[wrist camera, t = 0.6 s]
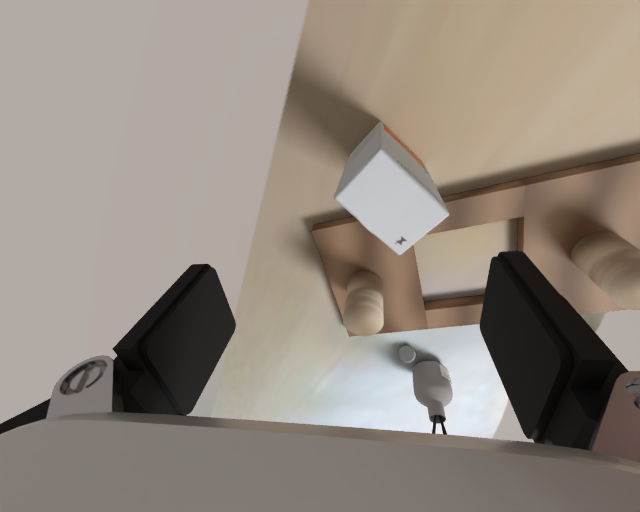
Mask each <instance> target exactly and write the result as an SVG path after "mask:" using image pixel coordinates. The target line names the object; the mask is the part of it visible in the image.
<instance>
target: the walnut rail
mask: <svg viewBox="0 0 640 512" xmlns="http://www.w3.org/2000/svg"><path fill="white" fill-rule="evenodd" d="M441 198H442V200H443V202H444V204H445V206H446V208H447V210H448V212H449V216H448V217H446V218H445V219H444V220H443V221H442V222H440V223H439V224H438V225H437V226H436V227H434V228H433V229H432V230H431V231H429V232H428V233H427V234H433V233H438V232H443V231H449V230H454V229H459V228H465V227H470V226H475V225H481V224H486V223H492V222H497V221H502V220H508V219H513V218H518V231H517V251H523V252H524V253H525V254H526V255H527V256H528V258H529V259H530V260H531V261H532V262H533V263H534V265H535V266H536V267H537V268H538V269H539V270H540V272H541V273H542V274H543V275H544V276H545V277H546V279H547V280H548V281H549V282H550V283H551V284H552V286H553V287H554V288H555V289H556V290H557V291H558V293H559V294H560V295H562V296H563V297H564V298H565V299H566V300H567V301H568V302H569V303H570V304H571V305H572V307H573V308H574V309H575V310H576V311H577V312H578V313H579V314H587V313H598V312H608V311H618V310H640V153H639V154H635V155H630V156H626V157H621V158H617V159H612V160H607V161H603V162H598V163H594V164H589V165H585V166H580V167H576V168H571V169H567V170H562V171H558V172H553V173H548V174H544V175H539V176H535V177H530V178H526V179H521V180H517V181H512V182H508V183H503V184H498V185H494V186H489V187H485V188H480V189H476V190H471V191H467V192H462V193H458V194H453V195H449V196H444V197H441ZM311 232H312V235H313V238H314V240H315V243H316V246H317V249H318V251H319V254H320V257H321V260H322V262H323V265H324V268H325V271H326V273H327V276H328V279H329V282H330V285H331V287H332V290H333V293H334V296H335V298H336V301H337V304H338V307H339V309H340V312H341V315H342V318H343V324H344V326H345V327H346V329H347V332H348V334H349V336H370V335H373V334H380V333H391V332H401V331H411V330H422V329H432V328H442V327H453V326H463V325H473V324H480V318H481V313H482V307H483V302H484V296H485V295H478V296H470V297H462V298H454V299H446V300H437V301H429V302H423V296H422V291H421V285H420V280H419V274H418V268H417V263H416V257H415V252H414V246H413V245H412V246H411V247H410V248H409V249H407V250H406V251H405V252H404V253H403V254H401V255H398V254H397V253H395V252H394V251H393V250H392V249H391V248H390V247H388V246H387V245H386V244H385V243H384V242H383V241H381V240H380V239H379V238H378V237H377V236H376V235H374V234H373V233H371V232H370V231H369V230H368V229H366V228H365V227H364V226H363V225H362V224H361V222H360V221H359V220H358V219H357V218H355V217H354V216H353V217H349V218H344V219H340V220H335V221H331V222H326V223H321V224H317V225H314V226H313V228H312V231H311ZM427 234H426V235H427Z"/></svg>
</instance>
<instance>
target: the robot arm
mask: <svg viewBox="0 0 640 512" xmlns="http://www.w3.org/2000/svg"><path fill="white" fill-rule="evenodd" d="M235 327H236V323H235V319H234V317H233V315H232V312H231V309H230V307H229V304H228V301H227V298H226V296H225V293H224V291H223V288H222V285H221V283H220V280H219V278H218V275H217V272H216V270H215V269H214V268H212V267H211V266H210V265H209V264H194V265H191V266H190V267H189V268H188V269H187V270H186V271H185V272H184V273H183V274H182V275H181V276H180V278H179V279H178V280H177V281H176V282H175V283H174V284H173V285H172V286H171V287H170V288H169V289H168V290H167V292H165V294H164V295H163V296H162V297H161V298H160V299H159V300H158V301H157V302H156V303H155V304H154V305H153V306H152V307H151V308H150V310H149V311H148V312H147V313H146V314H145V315H144V316H143V317H142V318H141V319H140V320H139V321H138V322H137V323H136V324H135V325H134V327H133V328H132V329H131V330H130V331H129V332H128V333H127V334H126V335H125V336H124V337H123V338H122V339H121V340H120V341H119V342H118V344H117V345H116V346H115V347H114V348H113V350H114V351H115V353H116V354H117V357H116V358H115V359H114V360H113V359H112V358H110V357H109V356H96V357H93V358H90V359H87V360H85V361H83V362H81V363H79V364H77V365H76V366H74V367H73V368H72V369H70V370H69V371H68V372H66V373H65V374H64V375H63V376H62V377H61V378H60V380H59V381H58V382H57V383H56V385H55V387H54V389H53V392H52V396H51V398H50V399H48V400H47V401H45V402H43V403H41V404H39V405H37V406H35V407H33V408H31V409H29V410H27V411H25V412H23V413H21V414H19V415H17V416H15V417H13V418H11V419H9V420H7V421H5V422H3V423H2V424H0V512H640V371H628V370H627V369H626V368H625V367H624V365H623V364H622V363H621V362H620V361H619V360H618V359H617V358H616V357H615V355H614V354H613V353H612V352H611V350H610V349H609V348H608V347H607V346H606V345H605V343H604V342H603V341H602V340H601V339H600V338H599V337H598V335H597V334H596V333H595V332H594V331H593V330H592V328H591V327H590V326H589V325H588V324H587V323H586V322H585V320H584V319H583V318H582V317H581V316H580V315H579V313H578V312H577V311H576V310H575V309H574V308H573V307H572V305H571V304H570V303H569V302H568V301H567V300H566V299H565V298H564V297H563V296H562V295H560V294H559V293H558V291H557V290H556V289H555V288H554V287H553V286H552V284H551V283H550V282H549V281H548V280H547V279H546V277H545V276H544V275H543V274H542V273H541V272H540V270H539V269H538V268H537V267H536V266H535V265H534V263H533V262H532V261H531V260H530V259H529V258H528V256H527V255H526V254H525V253H524V252H523V251H509V252H500V253H499V254H498V257H493V258H492V259H491V264H490V269H489V275H488V280H487V285H486V291H485V296H484V302H483V307H482V313H481V318H480V330H481V334H482V336H483V338H484V341H485V343H486V345H487V348H488V350H489V352H490V355H491V357H492V360H493V362H494V364H495V367H496V369H497V371H498V374H499V376H500V378H501V381H502V383H503V385H504V388H505V390H506V392H507V395H508V397H509V400H510V402H511V404H512V406H513V409H514V411H515V414H516V416H517V418H518V421H519V423H520V425H521V428H522V430H523V432H524V434H525V436H526V437H527V438H528V439H533V440H534V442H535V443H531V442H520V441H510V440H499V439H488V438H478V437H467V436H456V435H443V434H430V433H417V432H404V431H391V430H378V429H365V428H352V427H338V426H325V425H311V424H297V423H283V422H269V421H255V420H241V419H226V418H211V417H196V416H186V415H187V414H189V413H190V412H191V411H192V410H193V408H194V406H195V405H196V402H197V401H198V399H199V397H200V395H201V393H202V391H203V389H204V387H205V385H206V384H207V382H208V380H209V378H210V376H211V374H212V372H213V371H214V368H215V367H216V365H217V363H218V361H219V359H220V357H221V355H222V353H223V352H224V350H225V348H226V346H227V344H228V342H229V340H230V339H231V337H232V335H233V333H234V331H235Z"/></svg>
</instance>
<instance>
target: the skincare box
mask: <svg viewBox="0 0 640 512" xmlns="http://www.w3.org/2000/svg"><path fill="white" fill-rule="evenodd" d="M334 199H335V200H336V201H337V202H338V203H339V204H341V205H342V206H343V207H344V208H345V209H346V210H347V211H349V212H350V213H351V214H352V215H353V216H354V217H355V218H357V219H358V220H359V221H360V222H361V224H362V225H363V226H364V227H365V228H366V229H368V230H369V231H370V232H371V233H373V234H374V235H376V236H377V237H378V238H379V239H380V240H381V241H383V242H384V243H385V244H386V245H387V246H388V247H390V248H391V249H392V250H393V251H394V252H395V253H397V254H398V255H401V254H403V253H404V252H405V251H406V250H407V249H409V248H410V247H411V246H412V245H413V244H415V243H416V242H417V241H418V240H419V239H421V238H422V237H423V236H424V235H426V234H427V233H428V232H429V231H431V230H432V229H433V228H434V227H436V226H437V225H438V224H439V223H440V222H442V221H443V220H444V219H445V218H446V217H448V216H449V212H448V210H447V208H446V206H445V204H444V202H443V200H442V198H441V196H440V194H439V192H438V190H437V188H436V186H435V184H434V182H433V180H432V178H431V176H430V175H429V172H428V170H427V168H426V166H425V164H424V163H423V162H422V161H420V160H419V159H418V158H417V157H416V156H415V155H414V154H413V153H412V152H411V151H410V150H409V149H408V148H407V147H406V146H405V145H404V144H403V143H402V142H401V141H400V140H399V139H398V138H397V137H396V136H395V135H394V134H393V133H392V132H391V131H390V130H389V129H388V128H387V127H386V126H385V125H384V124H383V123H382V122H381V121H380V122H379V123H378V124H377V125H376V126H375V127H374V128H373V129H372V130H371V131H370V133H369V134H368V135H367V136H366V137H365V138H364V139H363V140H362V141H361V142H360V144H359V145H358V146H357V147H356V148H355V149H354V150H353V151H352V153H351V154H350V155H349V158H348V160H347V163H346V166H345V169H344V172H343V174H342V177H341V180H340V182H339V185H338V188H337V190H336V192H335V195H334Z"/></svg>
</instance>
